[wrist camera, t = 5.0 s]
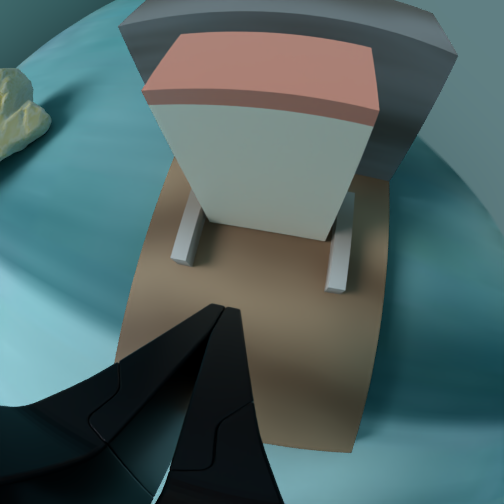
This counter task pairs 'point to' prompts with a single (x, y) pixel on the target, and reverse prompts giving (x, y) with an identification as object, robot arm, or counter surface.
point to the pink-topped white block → (266, 124)
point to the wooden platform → (287, 246)
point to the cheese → (19, 113)
